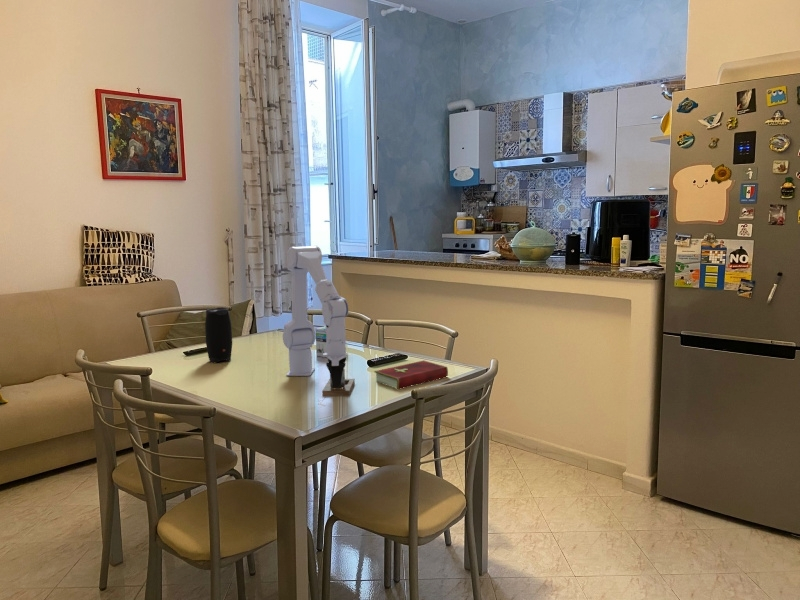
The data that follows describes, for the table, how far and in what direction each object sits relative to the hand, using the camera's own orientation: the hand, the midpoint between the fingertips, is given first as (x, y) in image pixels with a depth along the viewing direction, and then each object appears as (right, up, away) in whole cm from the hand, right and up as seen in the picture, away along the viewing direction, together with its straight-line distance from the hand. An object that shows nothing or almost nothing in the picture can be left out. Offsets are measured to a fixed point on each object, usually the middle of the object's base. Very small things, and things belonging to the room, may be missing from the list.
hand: (337, 383), depth 183 cm
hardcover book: (+23, -1, +14) cm, 27 cm away
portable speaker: (-48, +2, +43) cm, 64 cm away
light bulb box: (-8, +4, +51) cm, 51 cm away
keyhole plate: (0, -2, +4) cm, 4 cm away
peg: (0, -3, 0) cm, 3 cm away
